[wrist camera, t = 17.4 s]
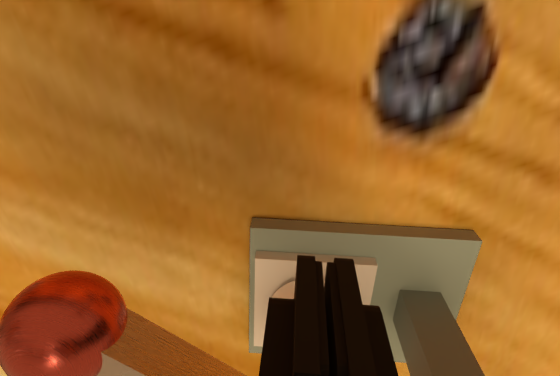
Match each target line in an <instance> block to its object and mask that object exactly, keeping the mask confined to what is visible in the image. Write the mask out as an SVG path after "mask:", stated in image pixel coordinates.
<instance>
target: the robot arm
mask: <svg viewBox="0 0 560 376" xmlns="http://www.w3.org/2000/svg"><path fill="white" fill-rule="evenodd" d="M259 376H398V373H397V369H396V365H395V361H394V357H393V354H392V350H391V346H390V342H389V338H388V334H387V331H386V327H385V323H384V319H383V315H382V312H381V309H380V307H379V306H375V305H363V304H362V299H361V294H360V289H359V284H358V279H357V274H356V270H355V265H354V260H353V259H347V258H334V262H327V266H326V275H325V283H324V281H323V267H322V261H315V256H306V255H297V265H296V278H295V291H294V299H284V298H271V297H269V302H268V309H267V317H266V325H265V332H264V340H263V348H262V356H261V363H260V371H259Z"/></svg>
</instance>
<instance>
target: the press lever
mask: <svg viewBox="0 0 560 376" xmlns="http://www.w3.org/2000/svg"><path fill="white" fill-rule="evenodd" d="M0 365H1V367H2V369H3V370H4V372H5V373H6V374H7V375H8V376H246V375H244V374H243V373H241V372H239V371H237V370H236V369H234V368H232V367H230V366H229V365H227V364H225V363H223V362H221V361H220V360H218V359H216V358H214V357H213V356H211V355H209V354H207V353H206V352H204V351H202V350H200V349H198V348H197V347H195V346H193V345H191V344H190V343H188V342H186V341H184V340H183V339H181V338H179V337H177V336H175V335H174V334H172V333H170V332H168V331H167V330H165V329H163V328H161V327H159V326H158V325H156V324H154V323H152V322H151V321H149V320H147V319H145V318H144V317H142V316H140V315H138V314H136V313H135V312H133V311H131V310H129V309H128V308H127V307H126V304H125V301H124V299H123V297H122V295H121V294H120V292H119V291H118V289H117V288H116V287H115V286H114V285H113V284H112V283H110V282H109V281H108V280H106V279H105V278H103V277H101V276H99V275H96V274H93V273H90V272H85V271H64V272H58V273H54V274H51V275H48V276H46V277H43V278H41V279H39V280H37V281H35V282H34V283H32V284H31V285H29V286H27V287H26V288H25V289H24V290H23V291H21V292H20V293H19V294H18V295H17V296H16V297H15V298H14V299H13V300H12V302H11V303H10V304H9V306H8V307H7V309H6V310H5V312H4V314H3V316H2V318H1V320H0Z"/></svg>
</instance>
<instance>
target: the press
mask: <svg viewBox="0 0 560 376" xmlns="http://www.w3.org/2000/svg"><path fill="white" fill-rule="evenodd" d="M481 244H482V240H481V239H480V238H479V237H478V235H477V234H476V233H475V232H474V231H473V230H460V229H443V228H425V227H408V226H390V225H373V224H356V223H338V222H321V221H304V220H286V219H269V218H252V221H251V226H250V295H249V353H262V348H263V340H264V332H265V325H266V317H267V309H268V302H269V297H271V298H272V296H273V295H274V293H275V292H276V291H277V290H278V289H279V288H281V287H282V286H284V285H285V284H287V283H290V282H292V281H295V278H296V265H297V255H306V256H315V261H322V267H323V281H325V275H326V266H327V262H334V258H347V259H353V260H354V265H355V270H356V274H357V279H358V284H359V289H360V294H361V299H362V304H363V305H375V306H379V307H380V309H381V312H382V315H383V319H384V323H385V327H386V331H387V334H388V338H389V342H390V346H391V350H392V354H393V357H394V361H395V362H404V363H407V366H408V369H409V372H410V376H485V375H484V373H483V372H482V370H481V368H480V366H479V364H478V362H477V360H476V358H475V356H474V354H473V353H472V351H471V349H470V347H469V345H468V343H467V341H466V339H465V337H464V336H463V334H462V332H461V330H460V328H459V326H458V324H457V322H456V318H457V315H458V312H459V309H460V306H461V303H462V300H463V297H464V294H465V292H466V289H467V286H468V283H469V280H470V277H471V274H472V271H473V268H474V265H475V262H476V259H477V256H478V253H479V250H480V247H481Z"/></svg>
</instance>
